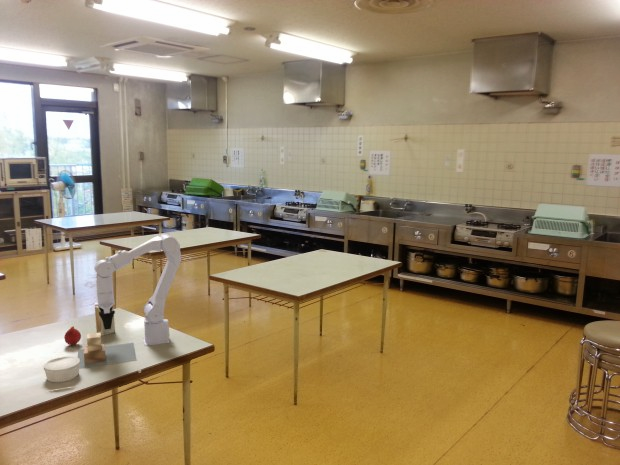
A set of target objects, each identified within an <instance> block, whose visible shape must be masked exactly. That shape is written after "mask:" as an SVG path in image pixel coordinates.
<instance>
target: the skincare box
mask: <svg viewBox="0 0 620 465" xmlns="http://www.w3.org/2000/svg"><path fill="white" fill-rule="evenodd" d="M112 311H115V310H114V307H113V308H112ZM99 312H101V311H100V309H99V307H98V306H94V315H95V326H96V327H95V328H96V333H101V336H105V335H109V334H113V333H115V332H116V322H115V315H114V316H113V319H112V325H111V329H106V330H105V328H104V325H103V321H102V319H101V317H100V315H99Z"/></svg>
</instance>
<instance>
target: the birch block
mask: <svg viewBox="0 0 620 465" xmlns="http://www.w3.org/2000/svg"><path fill="white" fill-rule="evenodd" d="M86 343H87V344H86V346H87V348H88V352H89V351H97V350H101V344H102V335H101V333H97V332H96V333H95V332H92V333H87V334H86Z"/></svg>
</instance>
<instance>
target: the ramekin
mask: <svg viewBox="0 0 620 465" xmlns="http://www.w3.org/2000/svg"><path fill="white" fill-rule="evenodd" d="M79 365H80V359H79V358H78V356H77V357H76V356H62V357H55V358H53V359H50V360H48V361H46V362H45V363H44V365H43V371H44V372H45V373H44V374H45V376H46V379H47V381H49V382H50V383H64V382H68V381H71V380H73V379H75V378H77V376H78V375H79V374H80V373H79V372H80V369H79Z"/></svg>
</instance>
